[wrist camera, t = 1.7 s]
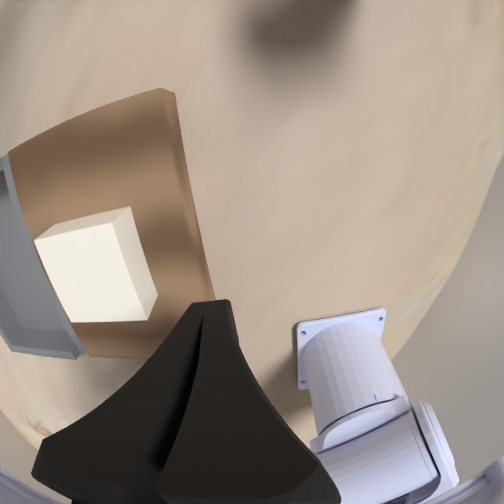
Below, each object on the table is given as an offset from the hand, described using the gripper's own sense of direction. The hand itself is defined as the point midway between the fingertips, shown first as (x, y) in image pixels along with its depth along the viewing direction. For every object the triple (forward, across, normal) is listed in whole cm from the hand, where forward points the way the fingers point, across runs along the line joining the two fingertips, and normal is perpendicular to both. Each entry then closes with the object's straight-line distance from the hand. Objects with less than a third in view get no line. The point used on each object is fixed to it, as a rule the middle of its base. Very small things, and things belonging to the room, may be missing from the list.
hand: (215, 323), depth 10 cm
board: (+10, +8, 0) cm, 13 cm away
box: (+10, +20, 0) cm, 23 cm away
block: (+7, +8, 0) cm, 10 cm away
